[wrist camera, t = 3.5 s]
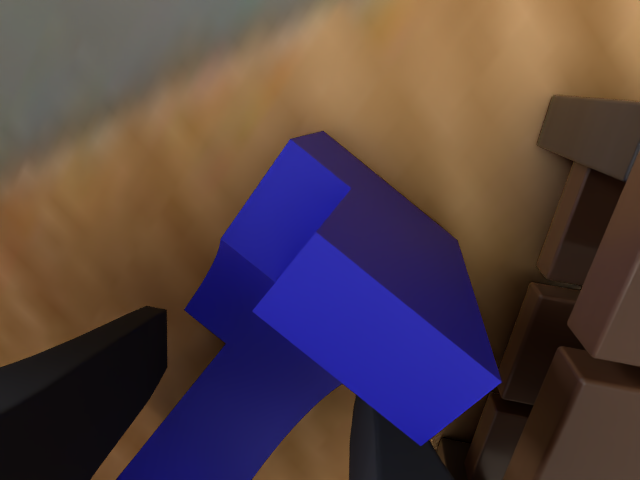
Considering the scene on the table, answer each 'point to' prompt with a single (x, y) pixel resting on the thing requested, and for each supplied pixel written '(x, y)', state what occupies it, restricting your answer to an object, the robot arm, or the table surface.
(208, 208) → the table surface
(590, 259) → the rack
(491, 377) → the blue stepped block
